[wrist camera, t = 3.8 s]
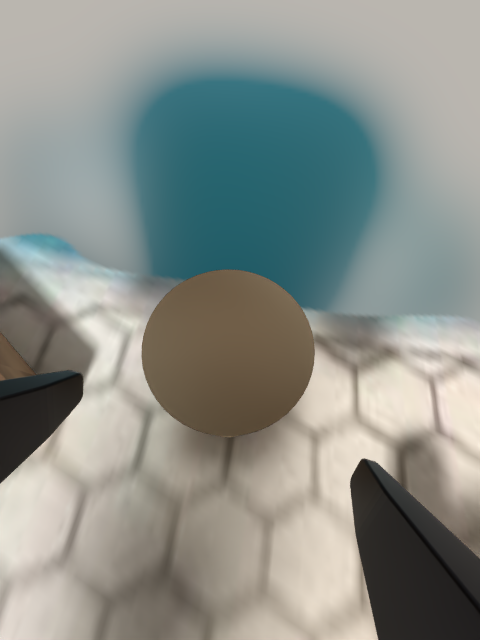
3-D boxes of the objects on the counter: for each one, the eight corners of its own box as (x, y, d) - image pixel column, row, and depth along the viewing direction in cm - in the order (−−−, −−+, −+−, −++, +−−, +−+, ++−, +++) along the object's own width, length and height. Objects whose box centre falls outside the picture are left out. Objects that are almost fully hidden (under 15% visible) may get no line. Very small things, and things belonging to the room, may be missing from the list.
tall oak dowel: (229, 449, 18) (232, 481, 5) (190, 410, 19) (105, 346, 6) (265, 407, 19) (348, 340, 6) (227, 371, 20) (226, 243, 7)
